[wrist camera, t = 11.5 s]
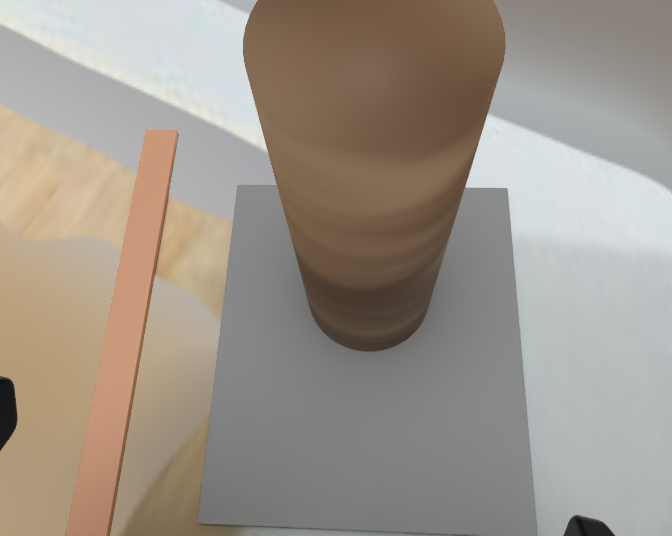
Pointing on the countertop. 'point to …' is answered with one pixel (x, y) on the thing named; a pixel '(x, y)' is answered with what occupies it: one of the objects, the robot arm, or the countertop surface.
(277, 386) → the mat
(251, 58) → the smooth brown cylinder
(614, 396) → the countertop surface
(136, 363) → the terracotta line strip
